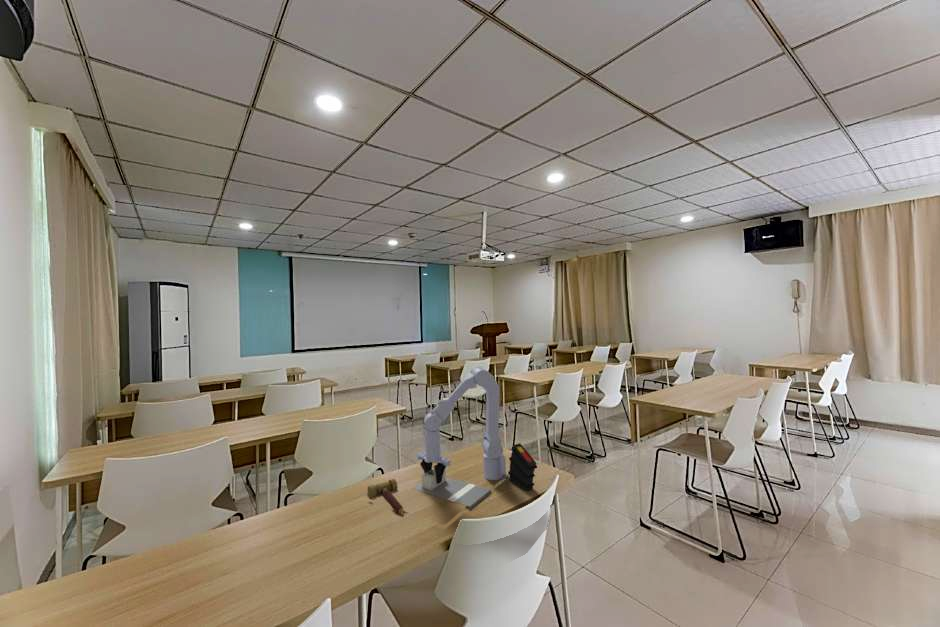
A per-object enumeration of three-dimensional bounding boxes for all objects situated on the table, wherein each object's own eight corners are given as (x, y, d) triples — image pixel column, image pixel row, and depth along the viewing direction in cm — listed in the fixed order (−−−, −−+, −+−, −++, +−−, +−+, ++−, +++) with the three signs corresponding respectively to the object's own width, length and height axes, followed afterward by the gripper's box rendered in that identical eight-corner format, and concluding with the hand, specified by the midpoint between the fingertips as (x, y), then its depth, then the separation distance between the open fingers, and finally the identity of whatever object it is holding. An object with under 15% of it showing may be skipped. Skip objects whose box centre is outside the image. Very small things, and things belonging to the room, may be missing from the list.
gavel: (416, 502, 129) (388, 511, 123) (416, 515, 129) (388, 525, 124) (393, 476, 146) (367, 483, 141) (393, 488, 147) (367, 495, 141)
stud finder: (437, 478, 151) (436, 466, 151) (445, 480, 149) (445, 468, 149) (422, 487, 144) (421, 474, 144) (431, 490, 141) (430, 477, 141)
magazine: (511, 471, 154) (520, 442, 148) (530, 497, 143) (541, 467, 138) (503, 473, 152) (512, 444, 146) (522, 500, 142) (533, 470, 136)
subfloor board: (435, 476, 155) (435, 474, 155) (491, 492, 140) (491, 489, 140) (412, 491, 143) (411, 488, 143) (469, 509, 129) (469, 506, 129)
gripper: (411, 445, 147) (412, 480, 147) (441, 452, 139) (442, 489, 139) (423, 440, 153) (424, 473, 153) (453, 446, 145) (454, 482, 145)
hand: (434, 481), depth 146 cm, fingers closed on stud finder, 4 cm apart
